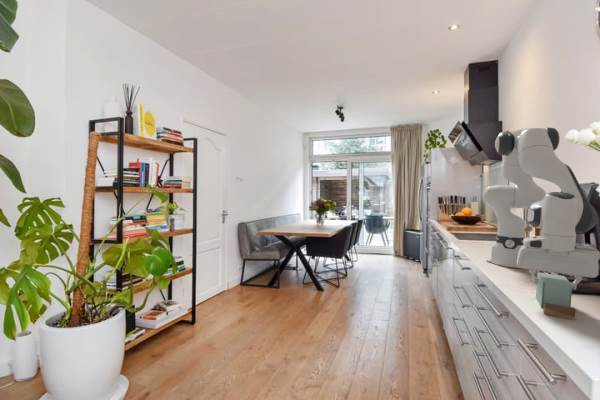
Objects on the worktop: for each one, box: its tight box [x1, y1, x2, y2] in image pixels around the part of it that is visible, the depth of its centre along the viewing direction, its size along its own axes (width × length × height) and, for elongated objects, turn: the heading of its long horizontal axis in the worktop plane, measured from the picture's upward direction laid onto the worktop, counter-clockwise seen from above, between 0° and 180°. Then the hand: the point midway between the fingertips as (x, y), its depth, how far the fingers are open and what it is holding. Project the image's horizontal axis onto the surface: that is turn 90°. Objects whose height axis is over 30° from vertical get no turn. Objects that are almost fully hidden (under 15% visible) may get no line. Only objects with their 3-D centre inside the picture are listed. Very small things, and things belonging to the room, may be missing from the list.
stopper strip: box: [542, 303, 577, 321], centre depth 93 cm, size 2×7×3 cm, turn 60°
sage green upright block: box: [535, 271, 573, 309], centre depth 102 cm, size 11×7×9 cm, turn 150°
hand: (553, 285), depth 101 cm, fingers open, 8 cm apart
